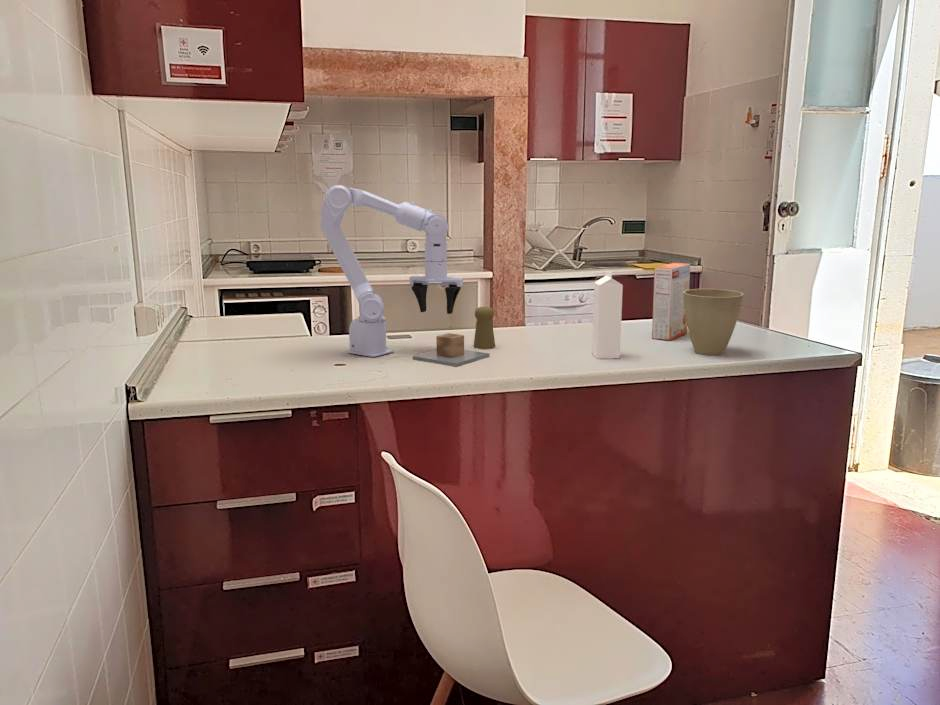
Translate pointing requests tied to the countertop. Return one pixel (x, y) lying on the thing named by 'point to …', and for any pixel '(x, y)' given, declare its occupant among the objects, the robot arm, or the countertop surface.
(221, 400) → the countertop surface
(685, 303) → the plant pot
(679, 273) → the cracker box
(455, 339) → the walnut cube
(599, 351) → the milk
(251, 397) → the countertop surface
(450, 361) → the slate board
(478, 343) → the cork
